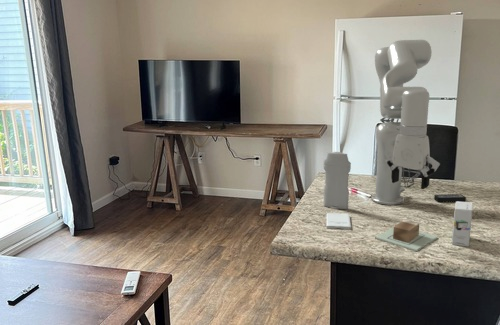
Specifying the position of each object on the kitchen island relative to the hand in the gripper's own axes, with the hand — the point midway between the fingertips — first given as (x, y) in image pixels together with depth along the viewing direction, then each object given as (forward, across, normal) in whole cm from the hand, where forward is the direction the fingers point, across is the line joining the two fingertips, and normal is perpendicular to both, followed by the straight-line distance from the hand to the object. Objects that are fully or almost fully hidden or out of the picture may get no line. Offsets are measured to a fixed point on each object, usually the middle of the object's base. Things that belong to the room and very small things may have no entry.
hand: (409, 185), depth 139 cm
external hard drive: (+19, -24, -4) cm, 30 cm away
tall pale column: (+18, -34, +9) cm, 39 cm away
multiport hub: (+19, -6, +46) cm, 50 cm away
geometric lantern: (+19, -32, +55) cm, 66 cm away
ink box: (+18, +13, +10) cm, 24 cm away
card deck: (+17, 0, 0) cm, 17 cm away
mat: (+18, 0, 0) cm, 18 cm away
